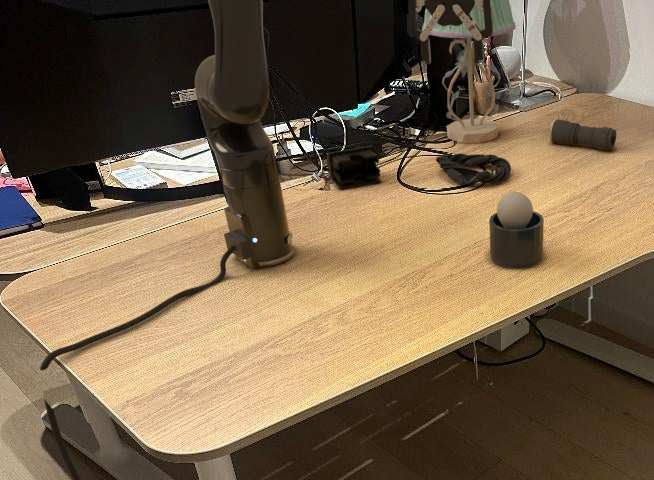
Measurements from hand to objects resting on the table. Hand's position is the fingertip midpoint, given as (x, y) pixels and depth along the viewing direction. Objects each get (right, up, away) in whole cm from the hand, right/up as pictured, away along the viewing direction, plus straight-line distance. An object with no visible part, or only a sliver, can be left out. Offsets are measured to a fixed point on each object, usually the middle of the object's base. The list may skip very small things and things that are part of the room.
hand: (452, 63), depth 131 cm
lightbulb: (+11, -33, +1) cm, 35 cm away
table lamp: (+2, +6, +57) cm, 57 cm away
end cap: (-23, -12, +32) cm, 41 cm away
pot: (+11, -34, +1) cm, 36 cm away
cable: (+3, -10, +34) cm, 36 cm away
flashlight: (+28, +1, +48) cm, 56 cm away
